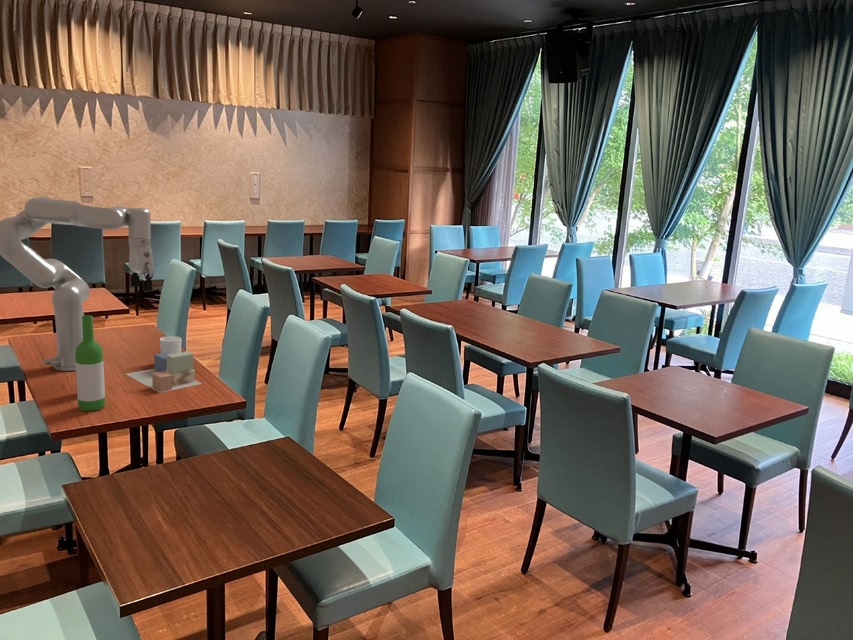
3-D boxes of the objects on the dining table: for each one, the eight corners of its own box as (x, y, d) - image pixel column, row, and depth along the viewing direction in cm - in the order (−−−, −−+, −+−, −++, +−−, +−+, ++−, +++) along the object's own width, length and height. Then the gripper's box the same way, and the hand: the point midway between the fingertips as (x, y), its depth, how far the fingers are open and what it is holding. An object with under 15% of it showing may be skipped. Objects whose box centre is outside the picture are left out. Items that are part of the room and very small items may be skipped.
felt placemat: (159, 393, 234) (159, 392, 234) (125, 374, 251) (125, 373, 250) (202, 384, 245) (202, 383, 245) (166, 366, 262) (166, 366, 262)
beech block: (174, 385, 242) (174, 374, 241) (166, 381, 246) (165, 370, 245) (195, 381, 248) (195, 370, 247) (186, 377, 251) (186, 366, 251)
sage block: (172, 373, 242) (172, 357, 240) (167, 371, 244) (166, 354, 243) (193, 369, 247) (193, 353, 246) (187, 367, 250) (187, 351, 249)
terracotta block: (161, 391, 235) (160, 377, 234) (152, 386, 239) (152, 373, 238) (172, 389, 238) (171, 375, 237) (163, 384, 242) (163, 371, 241)
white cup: (177, 367, 263) (176, 341, 261) (157, 365, 263) (156, 340, 261) (185, 361, 271) (184, 336, 268) (165, 360, 271) (164, 335, 268)
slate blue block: (173, 372, 256) (173, 357, 254) (163, 374, 253) (163, 358, 251) (164, 367, 260) (164, 352, 259) (154, 369, 257) (154, 354, 256)
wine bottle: (91, 413, 212) (86, 319, 206) (72, 409, 215) (67, 316, 208) (110, 406, 220) (106, 315, 213) (92, 402, 222) (87, 311, 215)
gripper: (161, 245, 247) (162, 291, 251) (138, 239, 258) (140, 283, 262) (141, 245, 242) (142, 293, 246) (119, 240, 253) (120, 285, 257)
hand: (141, 288), depth 254 cm, fingers open, 9 cm apart
